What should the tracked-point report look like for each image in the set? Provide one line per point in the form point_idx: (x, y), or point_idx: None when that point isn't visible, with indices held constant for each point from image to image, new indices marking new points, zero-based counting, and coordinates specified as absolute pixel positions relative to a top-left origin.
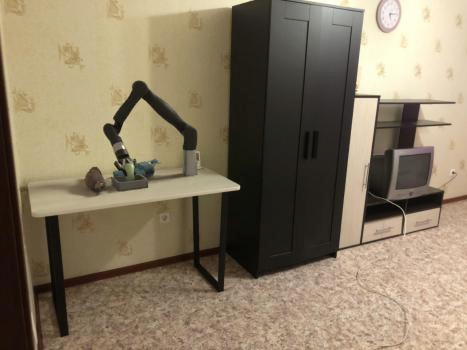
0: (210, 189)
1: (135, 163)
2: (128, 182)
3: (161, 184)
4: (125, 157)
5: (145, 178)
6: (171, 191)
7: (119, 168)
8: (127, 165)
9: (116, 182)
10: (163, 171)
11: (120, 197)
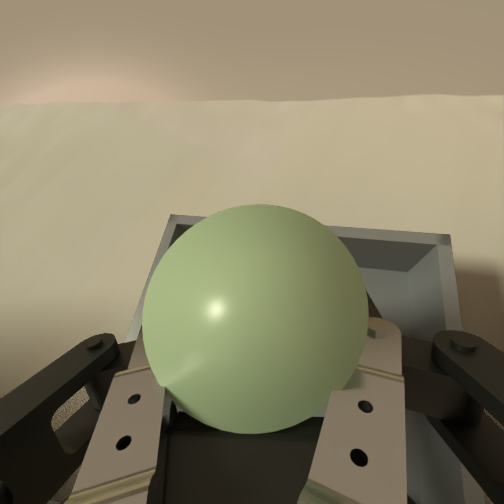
0: (37, 104)
1: (43, 391)
2: (340, 229)
3: (93, 265)
4: None
5: (164, 250)
6: (154, 136)
7: (483, 350)
8: (323, 227)
9: (452, 304)
10: None
11: (434, 152)
